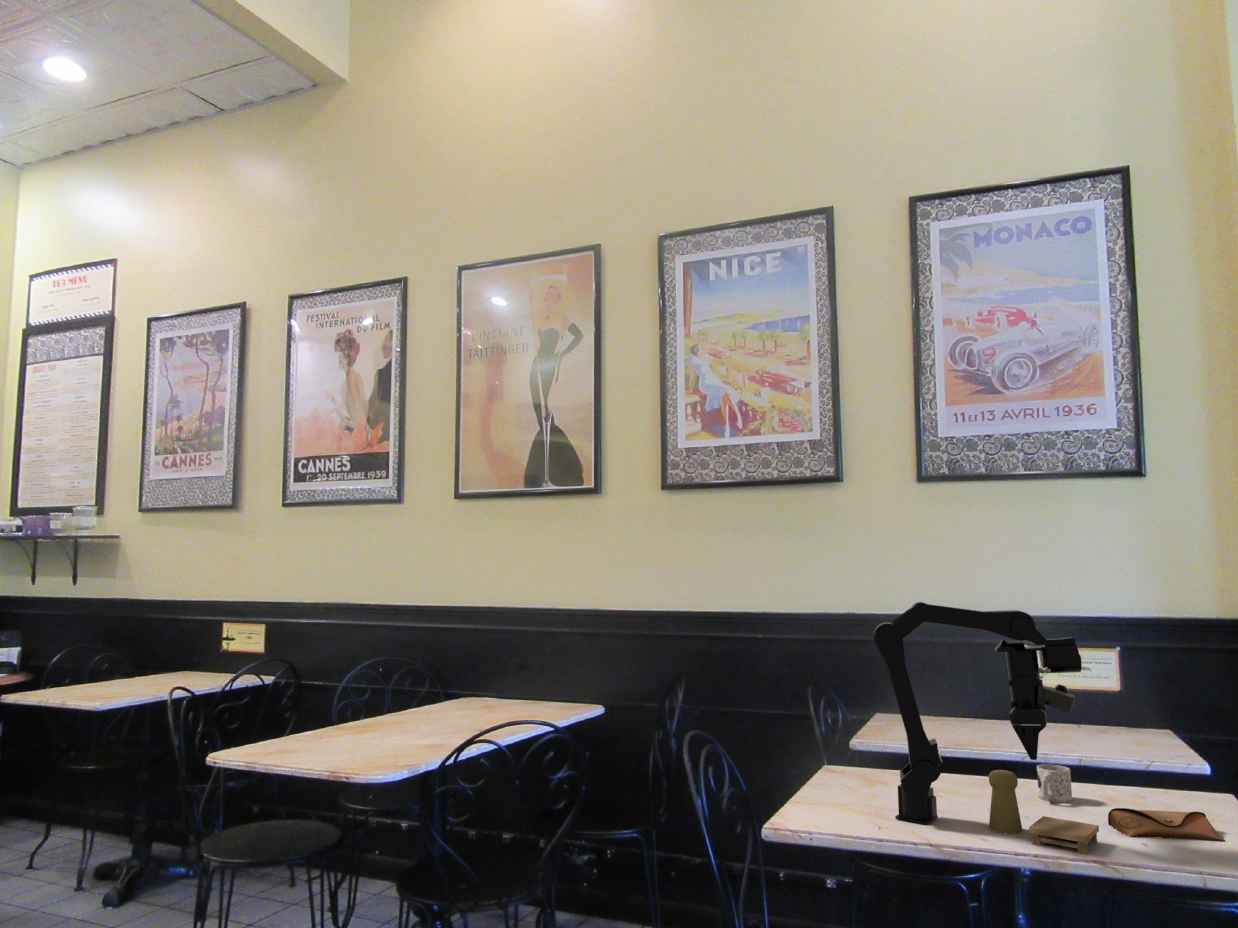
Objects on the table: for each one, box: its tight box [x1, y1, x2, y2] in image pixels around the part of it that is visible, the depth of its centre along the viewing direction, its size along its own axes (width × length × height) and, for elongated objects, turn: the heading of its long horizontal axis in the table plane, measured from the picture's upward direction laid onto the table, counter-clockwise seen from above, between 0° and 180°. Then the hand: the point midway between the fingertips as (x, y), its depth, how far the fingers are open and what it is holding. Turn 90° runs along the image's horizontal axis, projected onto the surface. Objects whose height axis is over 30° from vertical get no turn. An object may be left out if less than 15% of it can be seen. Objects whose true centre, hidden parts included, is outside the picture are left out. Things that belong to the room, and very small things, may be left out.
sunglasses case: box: [1107, 807, 1226, 842], centre depth 166 cm, size 18×7×7 cm
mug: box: [1036, 763, 1073, 804], centre depth 191 cm, size 10×7×7 cm, turn 136°
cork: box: [988, 769, 1024, 835], centre depth 169 cm, size 6×6×11 cm
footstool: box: [1028, 815, 1100, 855], centre depth 160 cm, size 10×10×3 cm
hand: (1034, 754), depth 171 cm, fingers open, 9 cm apart
